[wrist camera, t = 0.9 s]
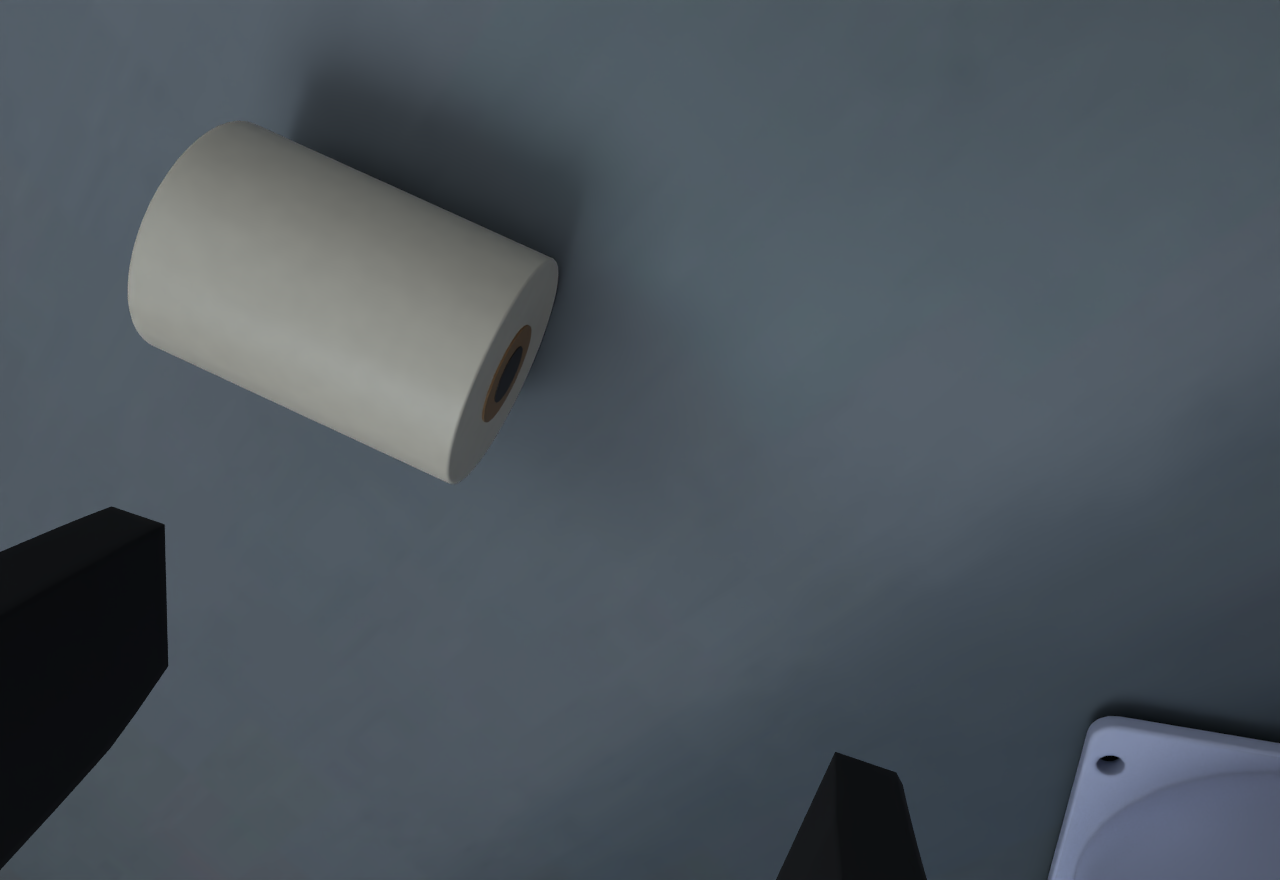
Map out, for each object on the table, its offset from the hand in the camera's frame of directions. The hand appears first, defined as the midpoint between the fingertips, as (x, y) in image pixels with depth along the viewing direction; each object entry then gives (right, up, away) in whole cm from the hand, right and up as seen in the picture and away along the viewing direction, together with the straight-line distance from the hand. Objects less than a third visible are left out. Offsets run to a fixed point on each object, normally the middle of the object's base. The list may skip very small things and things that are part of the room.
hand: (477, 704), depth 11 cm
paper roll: (-3, +6, +10) cm, 12 cm away
